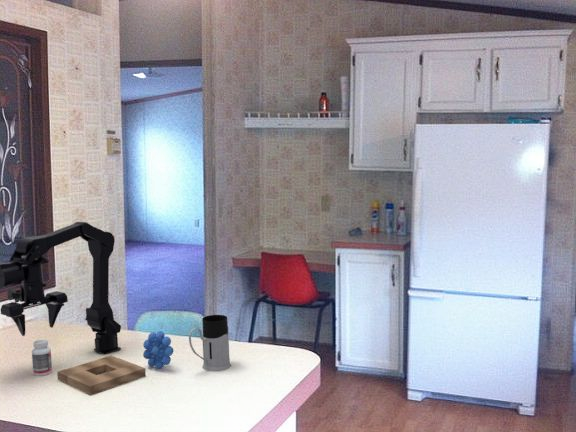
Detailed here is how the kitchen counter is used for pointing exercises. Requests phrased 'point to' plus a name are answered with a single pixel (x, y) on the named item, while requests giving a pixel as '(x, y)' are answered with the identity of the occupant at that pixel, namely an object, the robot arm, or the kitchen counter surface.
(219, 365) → the glass holder
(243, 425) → the kitchen counter surface
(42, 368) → the pill bottle
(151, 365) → the grapes
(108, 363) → the hole plate
